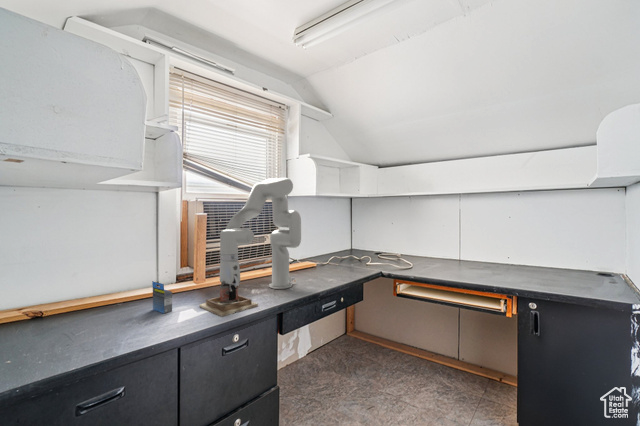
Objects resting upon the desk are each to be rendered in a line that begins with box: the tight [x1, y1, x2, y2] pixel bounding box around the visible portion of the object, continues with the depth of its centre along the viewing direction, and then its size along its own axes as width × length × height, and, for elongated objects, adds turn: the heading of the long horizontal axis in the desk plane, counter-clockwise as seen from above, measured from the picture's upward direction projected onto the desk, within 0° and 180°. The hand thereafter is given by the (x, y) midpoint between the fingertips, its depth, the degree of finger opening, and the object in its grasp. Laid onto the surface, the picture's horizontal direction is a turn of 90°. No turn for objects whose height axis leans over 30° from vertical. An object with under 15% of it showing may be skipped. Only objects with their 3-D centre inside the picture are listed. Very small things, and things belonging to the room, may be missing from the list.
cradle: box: [199, 294, 259, 317], centre depth 136 cm, size 18×18×3 cm
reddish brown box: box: [219, 281, 239, 304], centre depth 136 cm, size 8×3×10 cm, turn 113°
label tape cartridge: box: [151, 281, 173, 314], centre depth 130 cm, size 9×4×12 cm, turn 58°
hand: (229, 298), depth 136 cm, fingers closed on reddish brown box, 4 cm apart
